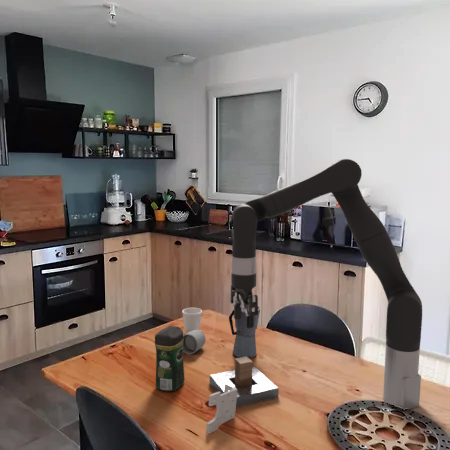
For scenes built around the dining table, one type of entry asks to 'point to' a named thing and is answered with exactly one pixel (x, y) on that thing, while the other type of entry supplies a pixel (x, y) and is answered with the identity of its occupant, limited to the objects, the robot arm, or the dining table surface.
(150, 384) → the dining table surface
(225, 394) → the bracket
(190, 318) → the dixie cup
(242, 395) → the square hole plate
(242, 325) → the moka pot
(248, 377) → the tan square peg
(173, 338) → the coffee jar
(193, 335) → the ceramic mug
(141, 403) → the dining table surface
